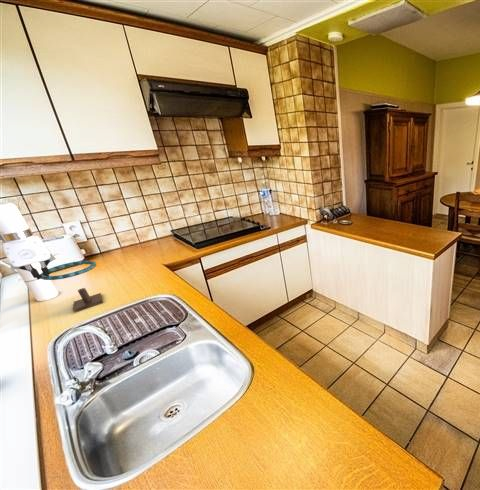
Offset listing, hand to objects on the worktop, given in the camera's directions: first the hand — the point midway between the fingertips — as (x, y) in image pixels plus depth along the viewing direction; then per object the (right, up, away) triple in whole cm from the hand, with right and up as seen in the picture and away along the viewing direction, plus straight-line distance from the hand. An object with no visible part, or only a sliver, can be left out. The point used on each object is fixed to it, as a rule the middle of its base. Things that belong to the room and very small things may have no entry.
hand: (43, 277), depth 108 cm
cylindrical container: (-22, -12, +20) cm, 32 cm away
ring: (+5, +3, +5) cm, 8 cm away
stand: (+6, -14, +12) cm, 19 cm away
